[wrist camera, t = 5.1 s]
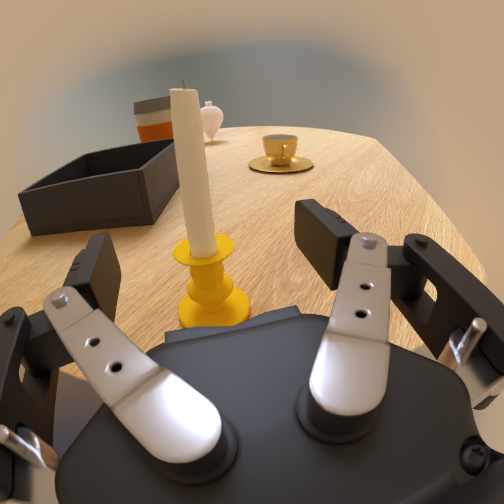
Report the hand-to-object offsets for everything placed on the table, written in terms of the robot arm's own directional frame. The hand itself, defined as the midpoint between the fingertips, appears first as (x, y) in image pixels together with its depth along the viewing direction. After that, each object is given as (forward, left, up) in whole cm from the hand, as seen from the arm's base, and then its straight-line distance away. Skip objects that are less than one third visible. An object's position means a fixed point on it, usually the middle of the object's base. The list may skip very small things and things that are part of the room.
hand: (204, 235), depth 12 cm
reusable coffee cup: (-18, +55, -9) cm, 59 cm away
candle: (-1, +5, -9) cm, 10 cm away
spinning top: (-10, +74, -9) cm, 75 cm away
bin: (-21, +31, -9) cm, 39 cm away
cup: (+7, +43, -9) cm, 44 cm away
